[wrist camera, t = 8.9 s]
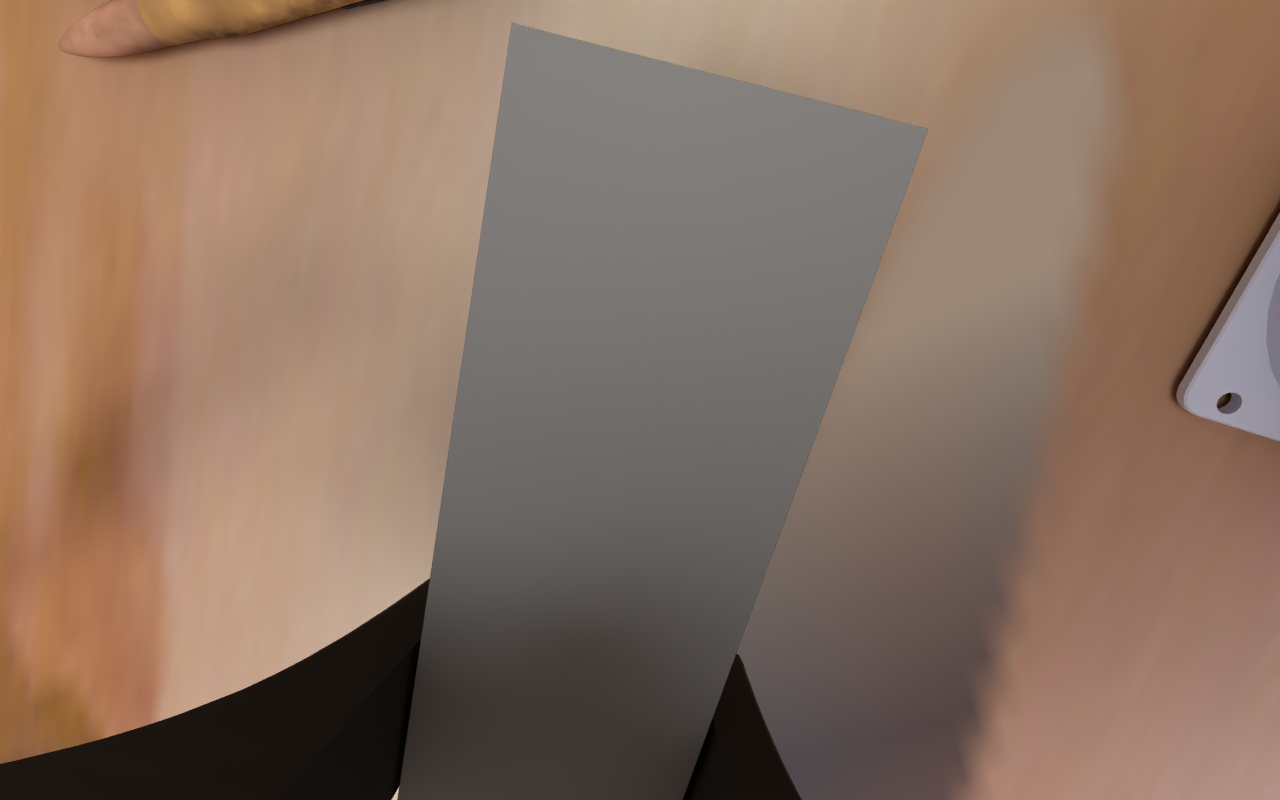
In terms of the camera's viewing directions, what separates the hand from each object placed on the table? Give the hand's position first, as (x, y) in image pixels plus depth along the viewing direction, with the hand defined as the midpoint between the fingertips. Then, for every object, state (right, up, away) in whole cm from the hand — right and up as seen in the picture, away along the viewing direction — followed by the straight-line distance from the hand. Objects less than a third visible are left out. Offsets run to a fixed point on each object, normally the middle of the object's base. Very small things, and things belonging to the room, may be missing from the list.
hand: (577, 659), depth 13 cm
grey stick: (0, +1, +2) cm, 3 cm away
